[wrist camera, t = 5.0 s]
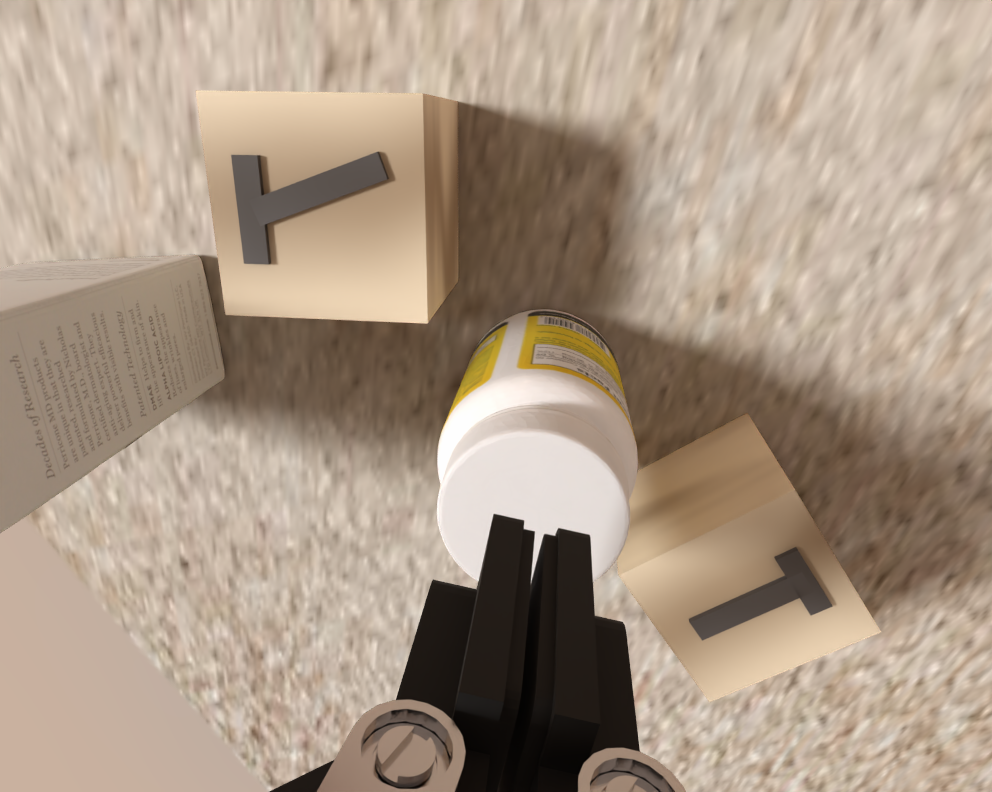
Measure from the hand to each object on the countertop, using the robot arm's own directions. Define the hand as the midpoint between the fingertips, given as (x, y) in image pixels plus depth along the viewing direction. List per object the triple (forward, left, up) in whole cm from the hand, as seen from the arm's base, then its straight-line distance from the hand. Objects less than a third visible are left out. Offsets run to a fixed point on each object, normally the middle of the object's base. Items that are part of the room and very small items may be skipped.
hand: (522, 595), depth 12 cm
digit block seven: (+7, +3, -11) cm, 13 cm away
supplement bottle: (0, 0, -11) cm, 11 cm away
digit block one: (-6, -4, -11) cm, 13 cm away
